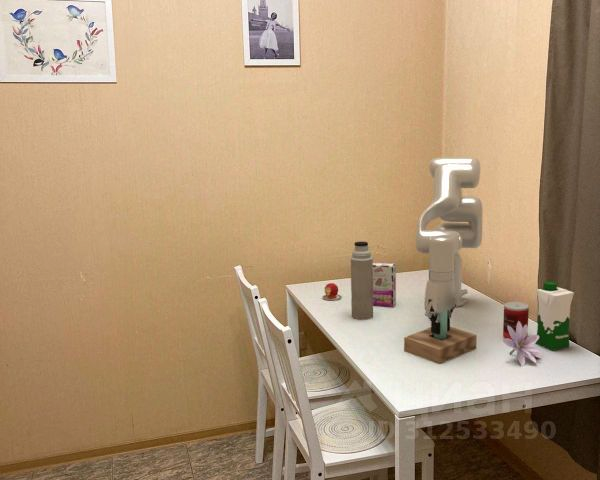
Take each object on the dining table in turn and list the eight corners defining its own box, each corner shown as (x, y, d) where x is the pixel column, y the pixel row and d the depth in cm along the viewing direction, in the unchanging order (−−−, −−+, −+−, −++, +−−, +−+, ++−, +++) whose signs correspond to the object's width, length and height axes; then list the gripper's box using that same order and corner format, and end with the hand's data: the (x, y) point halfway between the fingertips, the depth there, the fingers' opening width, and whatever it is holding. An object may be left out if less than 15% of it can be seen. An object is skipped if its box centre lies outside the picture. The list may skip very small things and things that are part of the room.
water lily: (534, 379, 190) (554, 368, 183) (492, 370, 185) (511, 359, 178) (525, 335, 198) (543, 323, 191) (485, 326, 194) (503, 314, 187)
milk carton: (552, 338, 203) (555, 279, 199) (574, 347, 195) (577, 286, 191) (531, 343, 200) (534, 283, 195) (552, 352, 191) (556, 290, 187)
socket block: (440, 336, 208) (440, 323, 207) (476, 348, 197) (476, 334, 196) (404, 350, 197) (404, 337, 196) (439, 363, 186) (439, 349, 185)
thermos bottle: (374, 313, 234) (373, 240, 228) (372, 320, 226) (371, 244, 220) (352, 312, 235) (351, 239, 230) (350, 319, 228) (349, 244, 222)
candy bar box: (396, 303, 244) (396, 263, 240) (393, 307, 239) (393, 266, 236) (368, 301, 248) (368, 261, 245) (365, 305, 244) (364, 264, 240)
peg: (439, 342, 199) (439, 294, 196) (449, 345, 196) (450, 296, 193) (431, 345, 197) (431, 296, 194) (441, 348, 194) (442, 299, 191)
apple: (342, 300, 250) (342, 285, 249) (322, 301, 250) (321, 285, 249) (341, 295, 258) (341, 279, 257) (322, 295, 258) (321, 280, 257)
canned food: (527, 334, 208) (528, 302, 205) (527, 342, 200) (529, 309, 198) (503, 332, 210) (504, 300, 208) (502, 340, 203) (503, 308, 201)
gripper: (448, 268, 200) (447, 322, 204) (413, 278, 190) (413, 335, 194) (468, 272, 194) (466, 328, 198) (433, 283, 184) (432, 341, 188)
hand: (440, 331), depth 196 cm, fingers closed on peg, 4 cm apart
